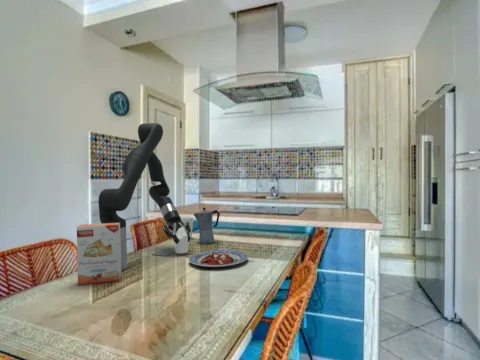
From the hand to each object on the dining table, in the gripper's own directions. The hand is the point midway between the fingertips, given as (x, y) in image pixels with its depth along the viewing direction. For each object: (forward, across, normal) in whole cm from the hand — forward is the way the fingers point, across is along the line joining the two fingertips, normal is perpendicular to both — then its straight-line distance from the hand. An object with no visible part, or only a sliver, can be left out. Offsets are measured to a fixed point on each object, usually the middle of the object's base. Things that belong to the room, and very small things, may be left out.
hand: (183, 241), depth 145 cm
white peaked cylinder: (+3, 0, +5) cm, 6 cm away
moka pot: (-6, +25, +16) cm, 30 cm away
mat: (-3, -2, +13) cm, 14 cm away
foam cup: (-18, +21, +28) cm, 39 cm away
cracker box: (+11, -40, -1) cm, 42 cm away
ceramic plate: (+19, +5, -9) cm, 22 cm away
